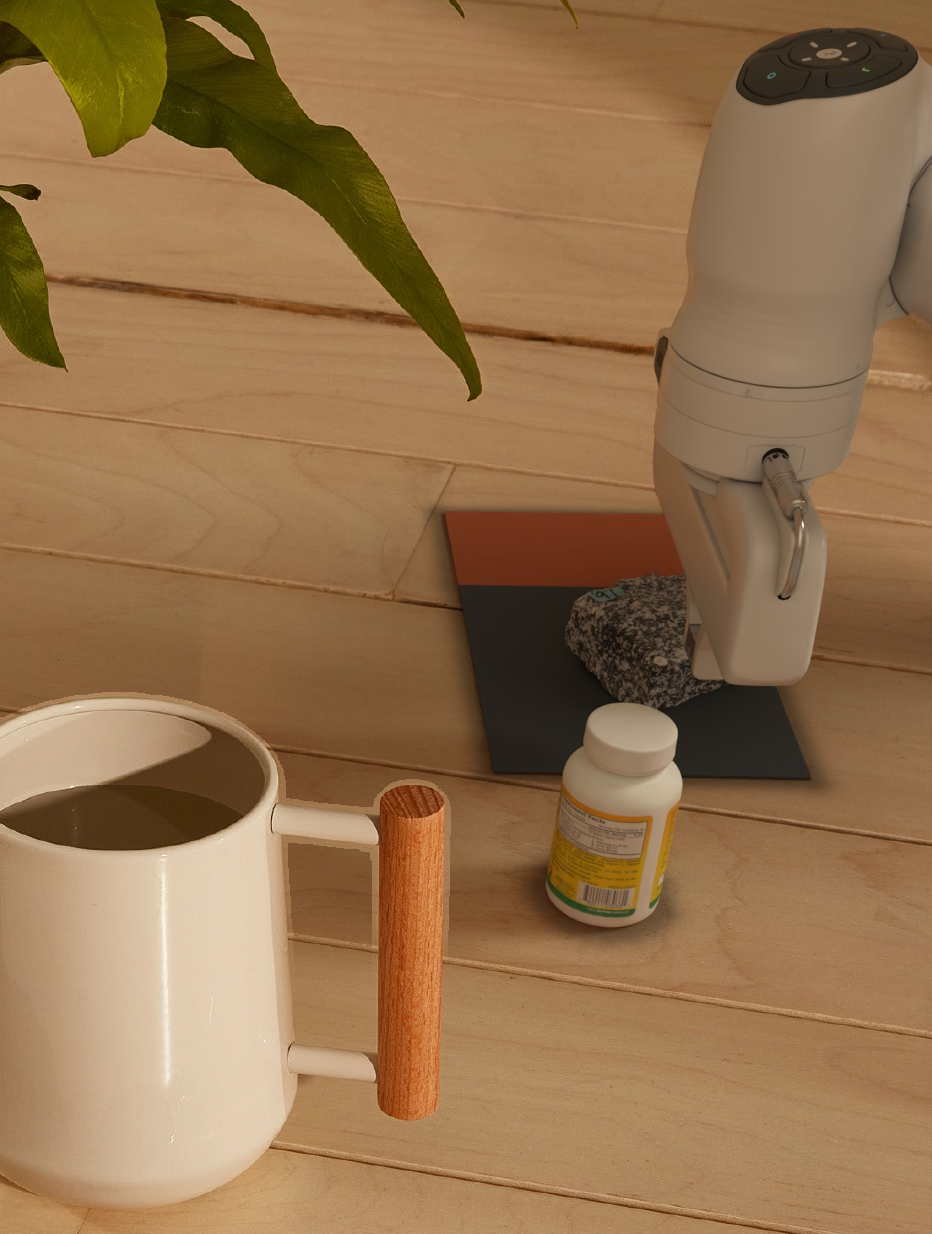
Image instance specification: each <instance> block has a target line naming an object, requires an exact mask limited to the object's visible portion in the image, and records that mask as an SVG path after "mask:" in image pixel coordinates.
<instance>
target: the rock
mask: <svg viewBox="0 0 932 1234" xmlns="http://www.w3.org/2000/svg"><path fill="white" fill-rule="evenodd" d="M686 621H687V608H686V575H685V574H682V575H672V576H668V577H664V576H661V575H658V574H657V573H651V574H649V575H645V576H642V577H641V576H640V577H637V578H626V579H622V580H619V581H618V582H617V583H616V584H614V585H613V586H612V587H605V588H598V589H597V590H592V591H590V592H588V593H587V594H586V595H584V596H582V597H580V598H579V599H577V600H576V601H575V603H574V605H573V608H572V613H571V619H570V621H569V622H568V624H567V627H566V630H565V644H566V645H567V647H569V648H570V649H571V651H572V653H573V654H574V655H575V656H576V657H578V658H580V659H581V660H582V662H584V663H586V668H587V670H588V671H590V672H592V673H594V674H595V675H597V678H598V680H599V681H601V683H600V684H601V685H602V686H603V688H604V689H605V690H606V691H607V692H608V693H610V694H611V695H612V696H614V697H616V698H617V700H618V701H621V702H623V703H636V704H641V705H645V706H648V707H651V708H654V709H656V710H660V709H665V708H667V707H671V706H677V705H679V704H681V703H683V702H684V701H686V700H688V699H689V698H691V697H694V696H697V695H699V694H700V693H707V692H710V691H713V690H716V689H718V688H720V687H723V686H726V685H729V684H730V683H727V682H726V681H725V680H724V679H721V680H704V679H697V678H696V677H694V675H693V672H692V669H691V665H690V662H689V659H688V657H687V654H686V651H685V649H684V646H683V637H684V631H685V626H686Z"/></svg>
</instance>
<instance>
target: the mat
mask: <svg viewBox="0 0 932 1234" xmlns="http://www.w3.org/2000/svg"><path fill="white" fill-rule="evenodd" d="M443 515H444V520H445V524H446V530H447V537H448V541H449V546H450V552H451V556H452V557H451V558H452V561H453V567H454V573H455V577H456V583H457V588H458V593H459V598H460V603H461V609H462V614H463V619H464V623H465V629H466V630H465V631H466V635H467V640H468V641H467V642H468V645H469V650H470V655H471V661H472V667H473V671H474V677H475V682H476V688H477V692H478V697H479V702H480V708H481V713H482V718H483V719H482V720H483V725H484V729H485V734H486V740H487V745H488V746H487V747H488V751H489V756H490V760H491V767H492V771H493V774H502V775H505V774H506V775H507V774H508V775H556V776H557V775H559V776H561V775H562V776H563V771H564V767H565V765H566V763H567V761H568V759H569V758H570V756H571V755H572V754H573V753H574V752H575V751H576V750H578V749H579V748H581V747H582V746H584V744H583V740H584V735H585V730H586V725H587V720H588V718H589V716H590V715H591V713H592V712H593V711H594V710H596V709H598V708H599V707H602V706H604V705H608V704H613V703H623V702H621V701H618V700H617V698H616V697H614V696H612V695H611V694H610V693H608V692H607V691H606V690H605V689H604V688H603V686H602V685H601V684H600V683H601V681H599V680H598V678H597V675H595V674H594V673H592V672H590V671H588V670H587V668H586V663H584V662H582V660H581V659H580V658H578V657H576V656H575V655H574V654H573V653H572V651H571V649H570V648H569V647H567V645H566V644H565V630H566V627H567V624H568V622H569V621H570V619H571V613H572V608H573V605H574V603H575V601H576V600H577V599H579V598H580V597H582V596H584V595H586V594H587V593H588V592H590V591H592V590H597V589H598V588H605V587H612V586H613V585H614V584H616V583H617V582H618V581H619V580H622V579H626V578H637V577H640V576H641V577H642V576H645V575H649V574H651V573H657V574H658V575H661V576H664V577H668V576H672V575H682V574H685V572H684V570H683V567H682V564H681V561H680V558H679V556H678V553H677V550H676V547H675V545H674V542H673V539H672V536H671V533H670V530H669V528H668V525H667V522H666V520H665V517H664V514H663V513H659V514H658V513H656V514H655V513H649V514H648V513H599V512H598V513H596V512H595V513H594V512H593V513H590V512H587V513H586V512H584V513H582V512H529V511H528V512H522V511H521V512H519V511H459V510H458V511H455V510H453V511H451V510H444V512H443ZM658 711H660V712H662V713H664V714H665V715H667V716H668V717H669V718H670V719H671V720H672V721H673V722H674V724H675V725H676V727H677V731H678V736H677V742H676V748H675V756H674V758H673V760H672V761H673V762H674V763H675V764H676V766H677V767H678V769H679V771H680V774H681V777H682V778H703V779H705V778H706V779H707V778H708V779H709V778H710V779H711V778H712V779H714V778H715V779H753V780H754V779H756V780H757V779H759V780H760V779H763V780H764V779H765V780H808V781H809V780H812V775H811V772H810V770H809V767H808V765H807V763H806V762H807V761H806V760H805V757H804V755H803V752H802V749H801V747H800V744H799V743H798V740H797V737H796V735H795V732H794V729H793V727H792V725H791V721H790V719H789V717H788V713H787V712H786V709H785V707H784V704H783V702H782V699H781V697H780V694H779V691H778V690H777V686H748V685H735V684H729V685H726V686H723V687H720V688H718V689H716V690H713V691H710V692H707V693H700V694H699V695H697V696H694V697H691V698H689V699H688V700H686V701H684V702H683V703H681V704H679V705H677V706H671V707H667V708H665V709H660V710H658Z"/></svg>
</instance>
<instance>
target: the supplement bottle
mask: <svg viewBox="0 0 932 1234" xmlns="http://www.w3.org/2000/svg"><path fill="white" fill-rule="evenodd" d="M677 736H678V731H677V727H676V725H675V724H674V722H673V721H672V720H671V719H670V718H669V717H668V716H667V715H665V714H664V713H662V712H660V711H658V710H656V709H654V708H651V707H648V706H645V705H641V704H636V703H613V704H608V705H604V706H602V707H599V708H598V709H596V710H594V711H593V712H592V713H591V715H590V716H589V718H588V720H587V725H586V730H585V735H584V740H583V744H584V746H582V747H581V748H579V749H578V750H576V751H575V752H574V753H573V754H572V755H571V756H570V758H569V759H568V761H567V763H566V765H565V767H564V771H563V775H562V776H561V782H560V789H559V795H558V803H557V807H556V808H557V809H556V816H555V819H554V826H553V834H552V839H551V846H550V851H549V858H548V859H549V860H548V865H547V874H546V880H545V889H546V894H547V896H548V899H549V900H550V901H551V903H552V904H553V905H554V907H556V908H557V909H558V910H559V911H560V912H562V913H563V914H565V915H566V916H567V917H569V918H571V919H573V920H575V921H577V922H580V923H582V924H585V925H589V926H593V927H594V926H595V927H600V928H622V927H627V926H633V925H635V924H637V923H640V922H641V921H644V920H645V919H647V918H648V917H649V916H650V915H652V914H653V912H654V911H655V910H656V908H657V906H658V904H659V901H660V897H661V893H662V888H663V883H664V878H665V874H666V870H667V864H668V859H669V854H670V850H671V846H672V841H673V835H674V833H675V827H676V821H677V816H678V813H679V807H680V803H681V798H682V793H683V777H681V774H680V771H679V769H678V767H677V766H676V764H675V763H674V762H673V761H672V760H673V758H674V756H675V748H676V742H677Z"/></svg>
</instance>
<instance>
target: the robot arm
mask: <svg viewBox="0 0 932 1234" xmlns="http://www.w3.org/2000/svg"><path fill="white" fill-rule="evenodd" d="M694 190H695V191H694V195H693V200H692V204H691V210H690V214H689V215H690V216H689V221H688V228H687V234H686V238H685V239H686V240H685V256H686V263H687V272H688V273H687V275H688V276H687V285H686V290H685V295H684V297H683V299H682V300H683V301H682V303H681V305H680V307H679V309H678V311H677V312H676V313H675V317H674V318H673V320H672V324H671V327H662V328H660V329H659V331H658V333H657V336H656V340H655V345H654V351H653V357H652V358H653V359H652V363H653V369H654V370H653V371H654V373H655V378H656V381H657V387H658V388H657V389H658V390H657V394H656V411H655V417H654V422H653V433H654V439H653V450H652V479H653V487H654V492H655V495H656V498H657V500H658V502H659V505H660V508H661V511H662V514H664V517H665V520H666V522H667V525H668V528H669V530H670V533H671V536H672V539H673V542H674V545H675V547H676V550H677V553H678V556H679V558H680V561H681V564H682V567H683V570H684V572H685V575H686V608H687V621H686V626H685V631H684V637H683V646H684V649H685V651H686V654H687V657H688V659H689V662H690V665H691V669H692V672H693V675H694V677H696V678H697V679H704V680H721V679H724V680H725V681H726V682H727V683H730V684H735V685H748V686H776V687H789V686H790V687H791V686H793V685H796V684H797V683H798V682H799V681H801V680H802V678H803V677H804V676H805V674H806V673H807V671H808V668H809V667H810V663H811V659H812V654H813V650H814V649H813V648H814V643H815V639H816V634H817V627H818V622H819V617H820V611H821V604H822V599H823V593H824V587H825V580H826V574H827V573H826V572H827V563H828V562H827V560H828V542H827V534H826V531H825V526H824V523H823V522H822V521H823V520H822V519H821V517H820V515H819V513H818V511H817V508H816V507H815V504H814V502H813V500H812V498H811V496H810V495H809V492H808V491H810V489H812V487H813V485H814V481H815V479H817V478H820V477H823V476H825V475H828V474H831V473H832V472H834V471H835V470H837V469H839V468H840V467H841V466H842V465H844V463H846V461H847V460H848V458H849V455H850V453H851V450H852V445H853V441H854V437H855V432H856V428H857V424H858V420H859V414H860V409H861V406H862V403H863V402H862V401H863V397H864V393H865V389H866V385H867V381H868V376H869V372H870V367H871V365H872V364H871V363H872V360H873V355H874V349H875V348H874V343H875V342H874V340H875V336H876V333H877V331H878V329H879V327H881V326H882V325H883V324H884V323H886V322H887V321H891V320H898V319H906V318H908V317H909V318H911V319H912V320H913V321H916V322H917V323H919V324H920V325H922V326H923V327H925V328H926V329H929V330H930V331H932V65H930V64H929V63H927V61H925V60H924V59H923V58H922V56H921V54H920V52H919V51H918V49H917V48H916V46H914V45H913V44H912V43H911V42H909V41H908V40H906V39H905V38H903V37H901V36H899V35H896V34H893V33H890V32H886V31H882V30H877V29H873V28H867V27H859V26H857V27H819V28H812V29H807V30H801V31H798V32H795V33H791V34H788V35H785V36H782V37H779V38H778V39H776V40H773V41H772V42H770V43H767V44H766V45H763V46H761V47H760V48H758V49H756V50H755V51H753V52H752V53H750V55H748V57H746V58H745V59H744V60H743V62H742V63H741V64H740V65H739V67H738V68H737V69H736V71H735V72H734V74H733V76H732V78H731V80H730V81H729V83H728V85H727V87H726V89H725V90H724V93H723V95H722V97H721V100H720V102H719V105H718V107H717V109H716V112H715V115H714V118H713V121H712V123H711V127H710V130H709V134H708V136H707V140H706V144H705V147H704V151H703V155H702V159H701V163H700V167H699V172H698V175H697V181H696V185H695V189H694Z"/></svg>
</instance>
